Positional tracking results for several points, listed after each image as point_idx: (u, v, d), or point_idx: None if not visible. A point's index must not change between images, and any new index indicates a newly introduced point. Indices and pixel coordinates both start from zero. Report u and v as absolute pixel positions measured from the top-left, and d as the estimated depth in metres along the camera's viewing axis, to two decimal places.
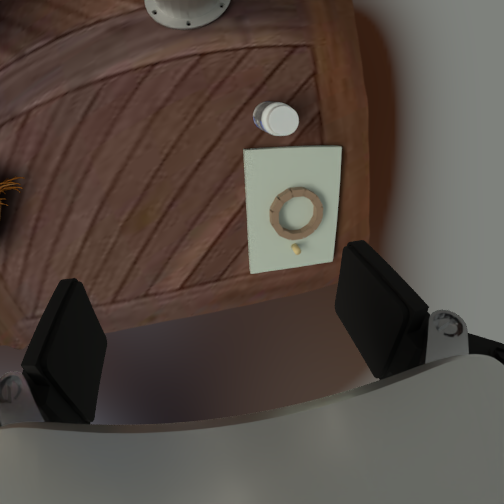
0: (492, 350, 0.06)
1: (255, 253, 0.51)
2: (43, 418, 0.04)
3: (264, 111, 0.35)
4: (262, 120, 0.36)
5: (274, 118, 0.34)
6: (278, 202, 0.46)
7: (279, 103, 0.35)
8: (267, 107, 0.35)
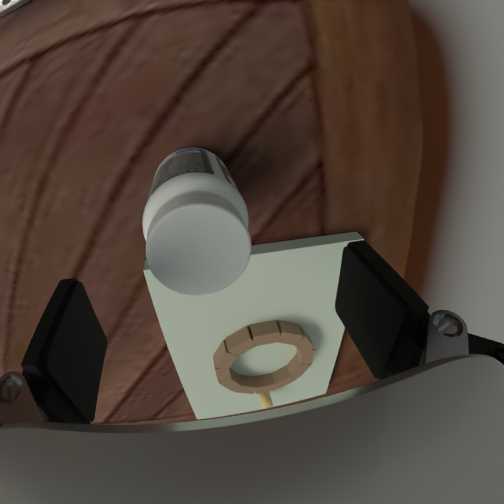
0: (492, 350, 0.06)
1: (199, 403, 0.28)
2: (43, 418, 0.04)
3: (146, 210, 0.12)
4: (145, 236, 0.12)
5: (163, 252, 0.10)
6: (226, 356, 0.23)
7: (191, 179, 0.11)
8: (154, 196, 0.11)
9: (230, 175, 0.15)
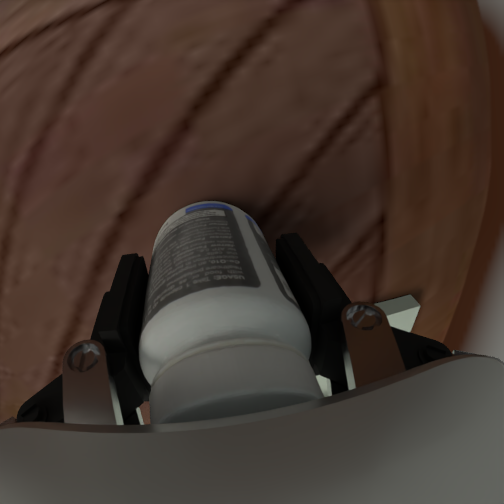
0: (424, 347, 0.06)
1: None
2: (112, 398, 0.05)
3: (143, 346, 0.06)
4: None
5: None
6: None
7: (221, 305, 0.06)
8: (154, 327, 0.06)
9: (273, 255, 0.10)
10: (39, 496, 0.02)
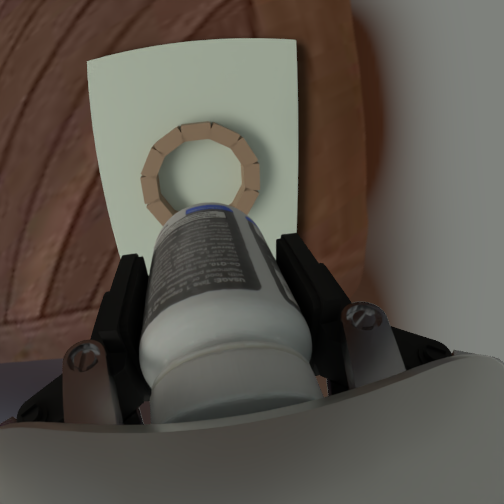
0: (424, 347, 0.06)
1: None
2: (112, 399, 0.05)
3: (143, 349, 0.06)
4: None
5: None
6: (152, 155, 0.19)
7: (222, 309, 0.06)
8: (154, 330, 0.06)
9: (273, 257, 0.10)
10: (39, 496, 0.02)
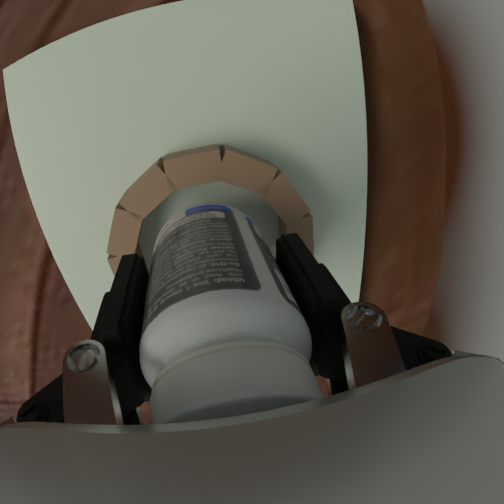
0: (424, 347, 0.06)
1: None
2: (112, 399, 0.05)
3: (143, 349, 0.06)
4: None
5: None
6: (119, 221, 0.11)
7: (221, 308, 0.06)
8: (154, 330, 0.06)
9: None
10: (39, 496, 0.02)
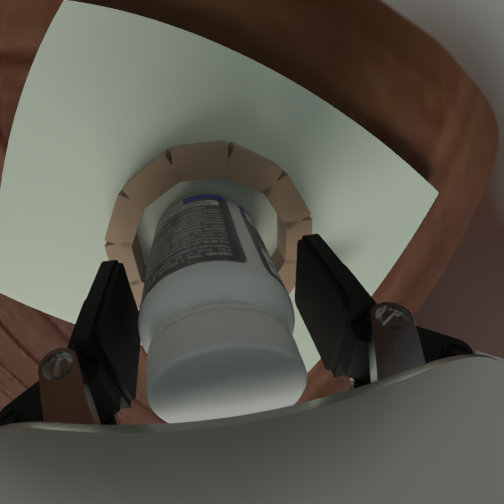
0: (447, 345, 0.06)
1: None
2: (88, 403, 0.05)
3: (142, 316, 0.07)
4: (144, 346, 0.08)
5: (174, 399, 0.06)
6: None
7: (211, 276, 0.07)
8: (152, 298, 0.07)
9: None
10: (39, 496, 0.02)
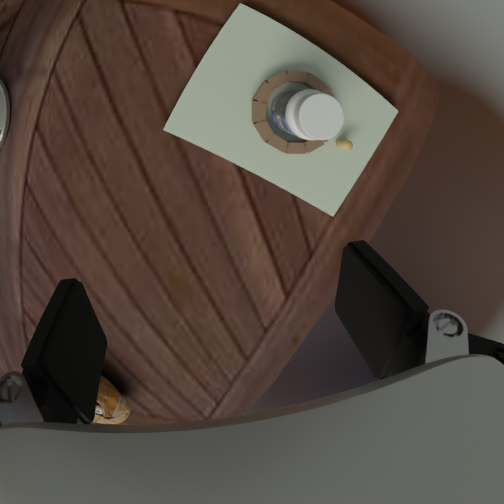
0: (492, 350, 0.06)
1: (311, 194, 0.33)
2: (43, 418, 0.04)
3: (290, 101, 0.22)
4: (287, 114, 0.23)
5: (307, 111, 0.21)
6: (259, 126, 0.27)
7: (314, 90, 0.22)
8: (295, 95, 0.22)
9: None
10: (39, 496, 0.02)
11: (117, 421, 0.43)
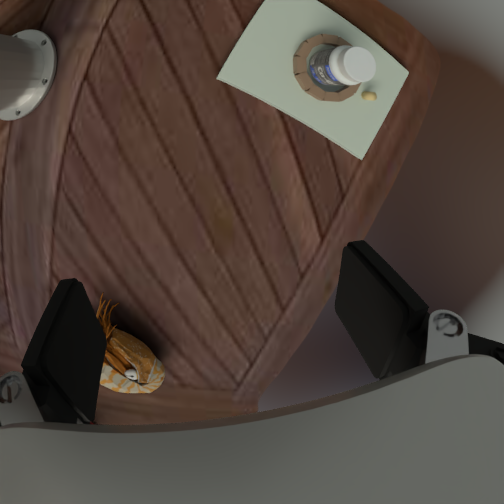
0: (493, 349, 0.06)
1: (343, 139, 0.35)
2: (43, 418, 0.04)
3: (333, 53, 0.24)
4: (330, 63, 0.25)
5: (349, 59, 0.23)
6: (301, 77, 0.29)
7: (350, 46, 0.24)
8: (336, 49, 0.24)
9: None
10: (39, 496, 0.02)
11: (151, 388, 0.45)
